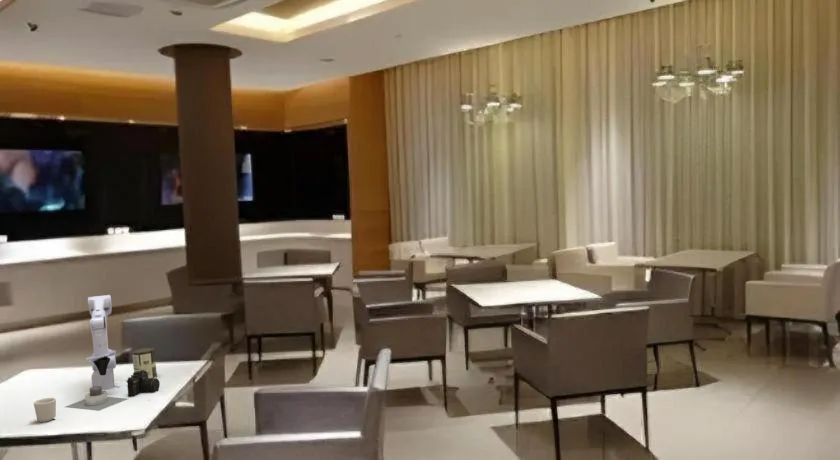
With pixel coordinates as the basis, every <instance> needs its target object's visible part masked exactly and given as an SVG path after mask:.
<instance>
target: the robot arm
mask: <svg viewBox="0 0 840 460" xmlns="http://www.w3.org/2000/svg"><path fill="white" fill-rule="evenodd" d="M112 306H113V305H112V297H111V294H106V295H97V296H88V297H87V307H88V310H89V311H88V312H89V315H90V316H91V318H90V319H89V328H90V333H91V339H92V347H93V353H92V355H91V356H88V357H86V358H85V361H86V363H90V364H91V367H92V371H93V372H92V374H91V388H92V387H96V386H101V387H102V391H107V390H111V389H113V388H115V389H119V388H120V386H119V385H117V386H116V385H115V374H114V370H115V369H116V368H117V361H116V356H117V351H116V350H113V349H110V348H109V339H108V322H107V321H108V316H109V315H111V314H112V311H113V310H112Z"/></svg>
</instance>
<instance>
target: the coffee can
mask: <svg viewBox="0 0 840 460" xmlns="http://www.w3.org/2000/svg"><path fill="white" fill-rule="evenodd" d="M155 350H156V349H155V347H142V348H141V347H140V348H136V349H133V350H131V355H132V366H133V373H134V372H136V371H141V370H145V371H146V372H147V373H148V378H151V379H152V378H155V379H158V375H157V373H158V372H157V363H156V351H155Z"/></svg>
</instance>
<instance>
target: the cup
mask: <svg viewBox="0 0 840 460" xmlns="http://www.w3.org/2000/svg"><path fill="white" fill-rule="evenodd" d="M56 403H57V399H56V398H55V397H45V398H41V399H37V400H34V402H33V407H34V411H35V416H36V419H37V421H38V422H41V423H46V422H50V421H52V420H54V419H55V418H56V415H57V414H56V413H57V404H56Z"/></svg>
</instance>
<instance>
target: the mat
mask: <svg viewBox="0 0 840 460" xmlns="http://www.w3.org/2000/svg"><path fill="white" fill-rule="evenodd" d="M107 400H108V401H107V402H106V403H104V404H101V405H97V406H87V405H86V401H85V398H84V399H81V400H80V401H76V402H74V403H71V404H69V405H66V406H64V408H69V409H79V410H88V411H98V412H100V411H102V410H104V409H105V410H106V409H107V408H109V407H110V408H111V406H114V405H117V404H120V403H121V402H124V401H127V400H128V398H124V397H114V396H112V397H111V396H107Z"/></svg>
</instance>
